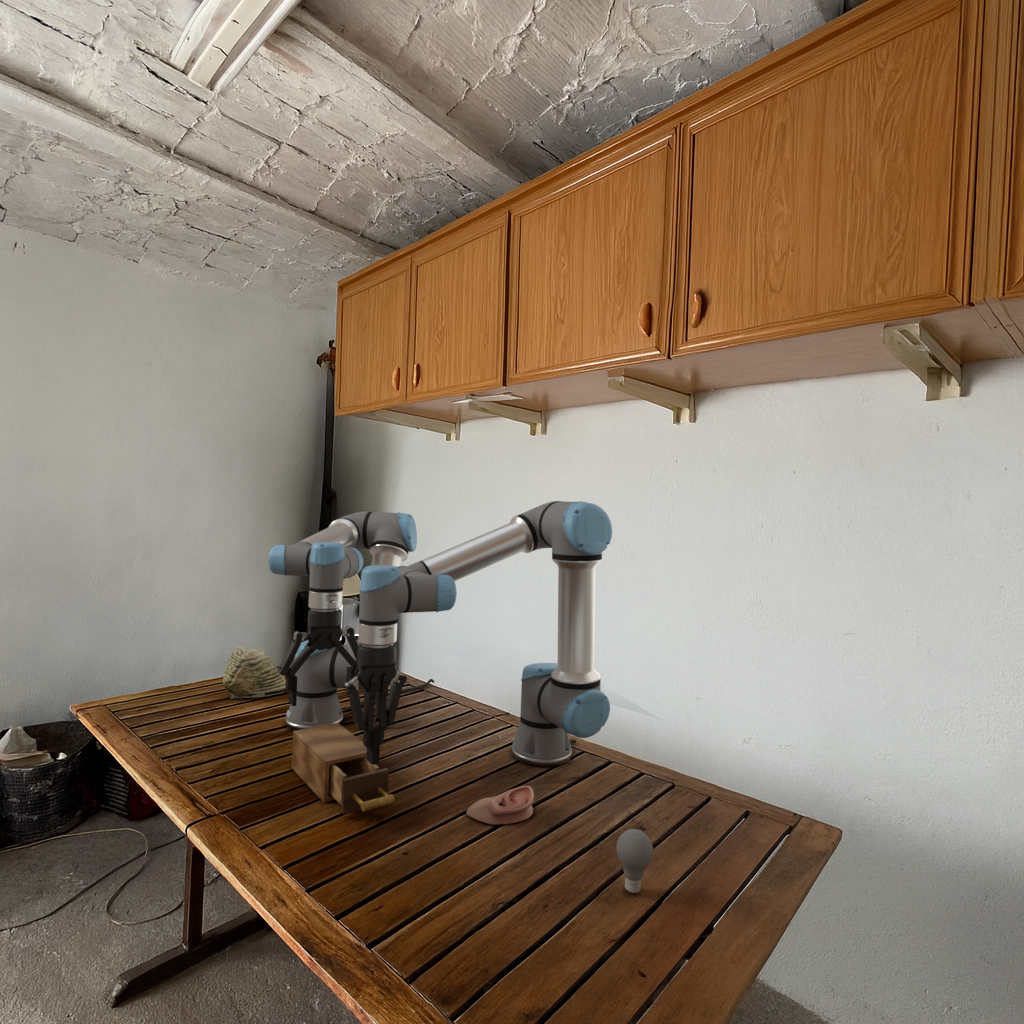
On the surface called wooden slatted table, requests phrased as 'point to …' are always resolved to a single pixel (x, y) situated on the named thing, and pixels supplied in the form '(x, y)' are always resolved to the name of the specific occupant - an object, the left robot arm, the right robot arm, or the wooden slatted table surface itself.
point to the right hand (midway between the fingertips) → (372, 761)
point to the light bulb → (634, 857)
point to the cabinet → (323, 754)
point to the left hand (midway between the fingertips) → (321, 699)
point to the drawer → (359, 785)
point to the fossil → (252, 674)
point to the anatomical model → (504, 807)
